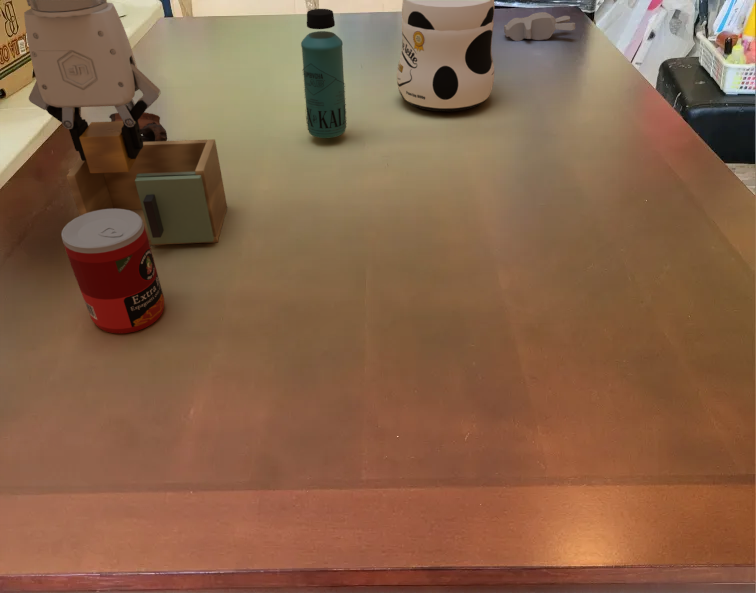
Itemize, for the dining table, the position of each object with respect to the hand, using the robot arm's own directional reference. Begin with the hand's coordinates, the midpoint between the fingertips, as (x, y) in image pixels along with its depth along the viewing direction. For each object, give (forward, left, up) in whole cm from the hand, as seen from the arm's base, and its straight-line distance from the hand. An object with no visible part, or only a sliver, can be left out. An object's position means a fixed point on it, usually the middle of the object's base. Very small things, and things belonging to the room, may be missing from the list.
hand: (111, 153), depth 80 cm
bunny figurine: (+72, +79, -11) cm, 107 cm away
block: (0, 0, -1) cm, 1 cm away
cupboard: (+4, +1, -11) cm, 11 cm away
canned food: (+4, -18, -11) cm, 21 cm away
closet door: (+8, -5, -10) cm, 14 cm away
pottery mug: (-4, +23, -11) cm, 25 cm away
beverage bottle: (+25, +27, -11) cm, 38 cm away
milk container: (+46, +42, -11) cm, 63 cm away
